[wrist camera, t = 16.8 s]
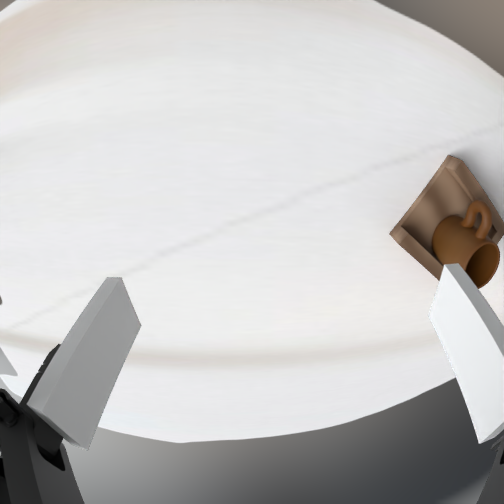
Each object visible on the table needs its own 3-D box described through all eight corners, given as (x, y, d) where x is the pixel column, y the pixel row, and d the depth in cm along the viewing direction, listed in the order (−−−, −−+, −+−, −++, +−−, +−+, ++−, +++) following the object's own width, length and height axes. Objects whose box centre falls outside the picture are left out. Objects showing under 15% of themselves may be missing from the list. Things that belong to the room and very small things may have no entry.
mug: (434, 186, 34) (473, 209, 26) (471, 184, 33) (511, 206, 25) (426, 261, 39) (456, 296, 31) (462, 255, 39) (493, 286, 30)
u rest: (448, 154, 33) (462, 160, 29) (495, 220, 37) (507, 229, 34) (389, 233, 39) (398, 244, 35) (445, 284, 43) (455, 296, 39)
